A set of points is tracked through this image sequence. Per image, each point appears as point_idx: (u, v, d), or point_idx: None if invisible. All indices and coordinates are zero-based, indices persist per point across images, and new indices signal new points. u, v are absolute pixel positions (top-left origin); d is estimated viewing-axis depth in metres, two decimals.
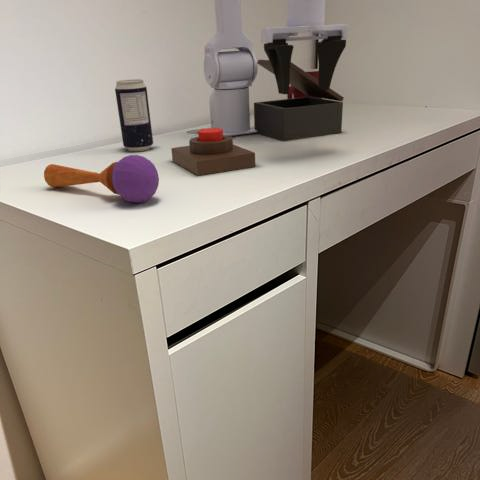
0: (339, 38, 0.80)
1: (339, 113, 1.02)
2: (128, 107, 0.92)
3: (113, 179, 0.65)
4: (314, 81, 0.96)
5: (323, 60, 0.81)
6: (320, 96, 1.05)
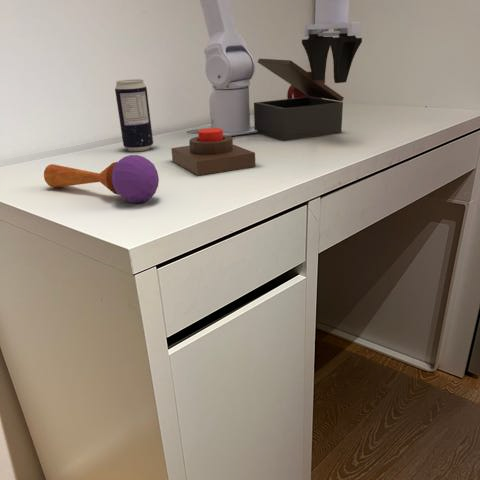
0: None
1: (339, 113, 1.02)
2: (128, 107, 0.92)
3: (113, 179, 0.65)
4: None
5: (318, 54, 0.94)
6: (320, 96, 1.05)
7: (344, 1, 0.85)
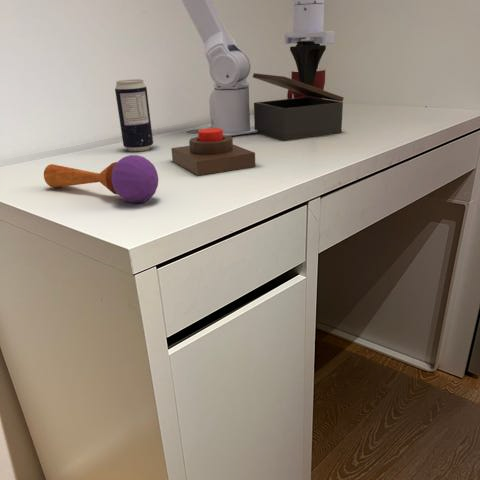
0: None
1: (339, 113, 1.02)
2: (128, 107, 0.92)
3: (112, 179, 0.64)
4: (311, 89, 0.97)
5: None
6: (320, 97, 1.06)
7: (319, 12, 0.93)
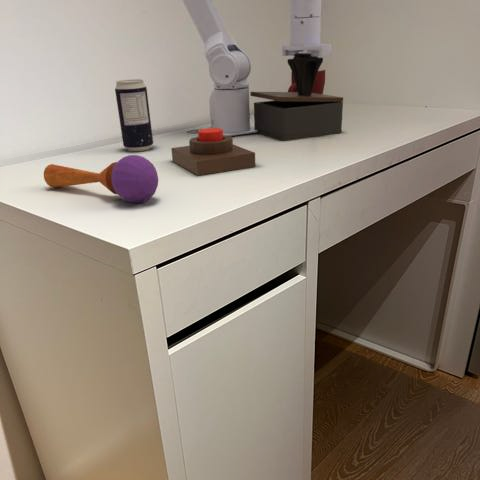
0: None
1: (339, 113, 1.02)
2: (128, 107, 0.92)
3: (112, 179, 0.64)
4: (309, 100, 0.98)
5: None
6: None
7: (316, 25, 0.93)
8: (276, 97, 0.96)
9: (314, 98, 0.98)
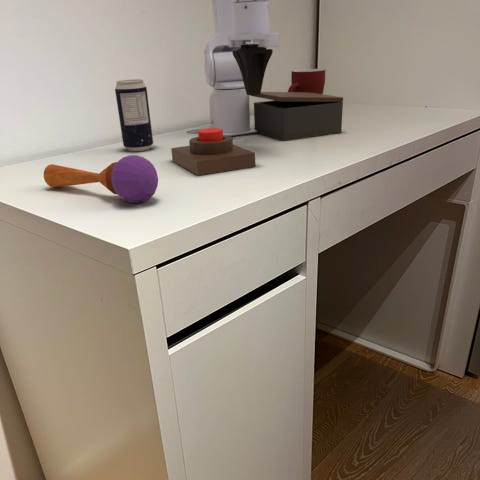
0: None
1: (339, 113, 1.02)
2: (128, 107, 0.92)
3: (112, 179, 0.64)
4: (309, 100, 0.98)
5: None
6: None
7: (262, 10, 0.80)
8: (276, 97, 0.96)
9: (314, 98, 0.98)
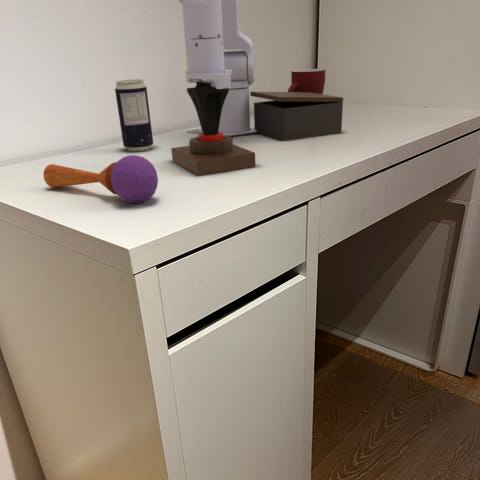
0: None
1: (339, 113, 1.02)
2: (128, 107, 0.92)
3: (112, 179, 0.64)
4: (309, 100, 0.98)
5: None
6: None
7: (214, 48, 0.74)
8: (276, 97, 0.96)
9: (314, 98, 0.98)
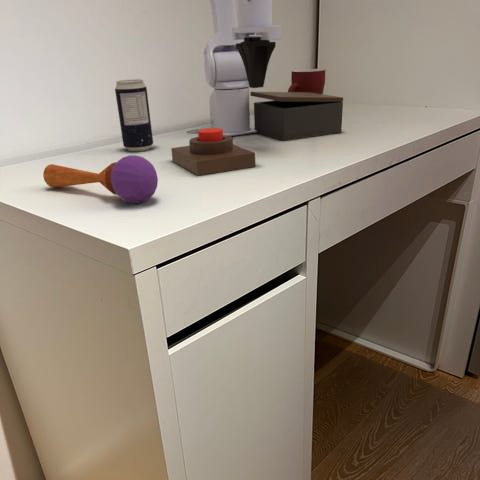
0: None
1: (339, 113, 1.02)
2: (128, 107, 0.92)
3: (112, 179, 0.64)
4: (309, 100, 0.98)
5: None
6: None
7: (265, 3, 0.80)
8: (276, 97, 0.96)
9: (314, 98, 0.98)
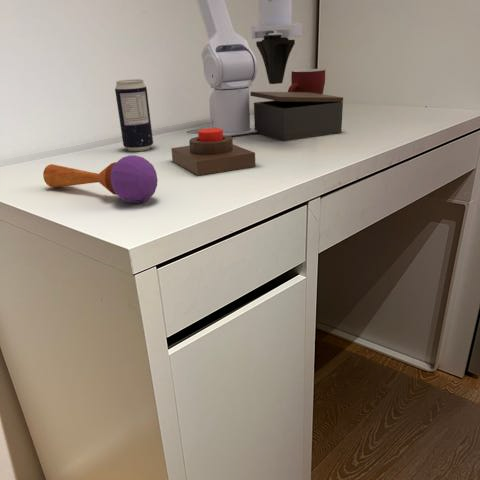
0: None
1: (339, 113, 1.02)
2: (128, 107, 0.92)
3: (111, 179, 0.64)
4: (309, 100, 0.98)
5: None
6: None
7: (285, 3, 0.84)
8: (276, 97, 0.96)
9: (314, 98, 0.98)
